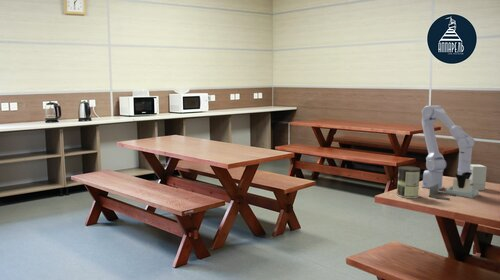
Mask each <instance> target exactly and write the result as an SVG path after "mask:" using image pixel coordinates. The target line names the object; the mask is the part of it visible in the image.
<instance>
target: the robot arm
mask: <svg viewBox="0 0 500 280" xmlns="http://www.w3.org/2000/svg"><path fill="white" fill-rule="evenodd" d="M421 117H422V118H421V126H422V131H423V135H424V139H425V144H426V149H427V153H428V155H427V156H426V157H425V160H426V162H425V166H426V169H425V170H424V171H423V174H422V185H421V187H422V188H426V189H430V187H431V186H433V185H435V184H437V183H438V184H439V185H438V191H439V190H443V189H444V188H445V185H444V186H443V176H444V174H443V173H444V170H445V169H446V168H447V161H446V160H445V158H444V155H443V154H441V152H440V150H439V149H440V148H439V146H438V142H437V137H436V136H437V135H436V132H435V128H434V123H435V122H436V121H437V120H439V121H441V122H442V123H443V124H444V126H446V128H448V130H449V134H450V135H451V136H452V138H453V139H454V140H455V141H456V143H457V146H458V151H459V153H458V163H457V165H458V166H457V172H456V173H454V174H455V178H457V181H458V187H459V188H464V184H465V180H466V179H469V178H470V176H471V174H472V173H471V172H472V171H473V170H470V167H471V164H472V154H473V147H474V146H475V145H476V140H475V139H474V137H473V136H470V135H469V134H468V133H466V132H465V131H464V130H463V127H462V126H460V125H456V124H455V122H453V121H452V119H451V118H450V116H448V114H447V113H446V110H445V109H444V108H443V106H441V105H439V104H438V105H425V106H424V107H423V108H422V110H421Z"/></svg>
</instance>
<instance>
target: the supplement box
mask: <svg viewBox="0 0 500 280" xmlns="http://www.w3.org/2000/svg"><path fill="white" fill-rule="evenodd" d="M487 168H488V167H487V166H485V165H482V164H472V163H471V167H470V170H473V171H472V172H471V173H472V174H471V176H470V178H469V179H470V180H473V184H474V185H473V186H472V189H473V190H479V191H485V190H486V184H487V183H486V182H487V181H486V180H487V170H488V169H487Z"/></svg>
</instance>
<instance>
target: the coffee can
mask: <svg viewBox="0 0 500 280" xmlns="http://www.w3.org/2000/svg"><path fill="white" fill-rule="evenodd" d="M397 169H398V174H397V189H396V195H397V196H398V197H400V198H404V199H416V198H419V188H420V173H421V167H418V166H417V167H416V166H413V165H412V166H410V165H403V166H402V165H401V166H398V168H397Z"/></svg>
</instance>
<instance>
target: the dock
mask: <svg viewBox="0 0 500 280" xmlns="http://www.w3.org/2000/svg"><path fill="white" fill-rule="evenodd" d="M438 185H439V184H438V183H437V184H435V185H433V186H431V187H430V188H429V193H428V194H429V196H428V197H429V198H434V199H438V200H439V199H440V200H445V201H450V197H451V196H452V197H457V196H456V194H452V193H446V191H439V190H438ZM437 194H440V195H446V196H450V197H446V196H440V195H437Z"/></svg>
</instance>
